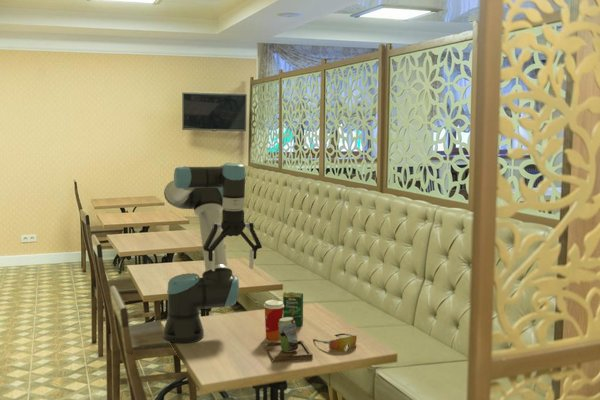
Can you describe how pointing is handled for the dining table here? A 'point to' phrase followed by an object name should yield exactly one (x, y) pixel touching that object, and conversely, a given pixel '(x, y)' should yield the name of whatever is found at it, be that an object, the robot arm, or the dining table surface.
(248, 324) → the dining table surface
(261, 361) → the dining table surface
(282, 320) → the beverage can
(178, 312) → the robot arm
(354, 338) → the sunglasses
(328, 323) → the dining table surface
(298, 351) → the far tray
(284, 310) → the coffee box
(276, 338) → the paper cup
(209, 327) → the dining table surface
